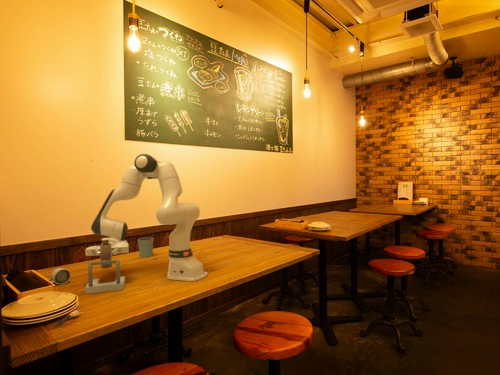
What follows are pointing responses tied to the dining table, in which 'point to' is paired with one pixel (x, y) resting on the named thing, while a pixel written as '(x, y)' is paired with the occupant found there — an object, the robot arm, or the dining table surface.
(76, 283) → the dining table surface
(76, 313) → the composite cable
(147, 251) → the grey tapered bin
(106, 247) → the sake bottle
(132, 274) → the dining table surface
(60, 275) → the ceramic mug
